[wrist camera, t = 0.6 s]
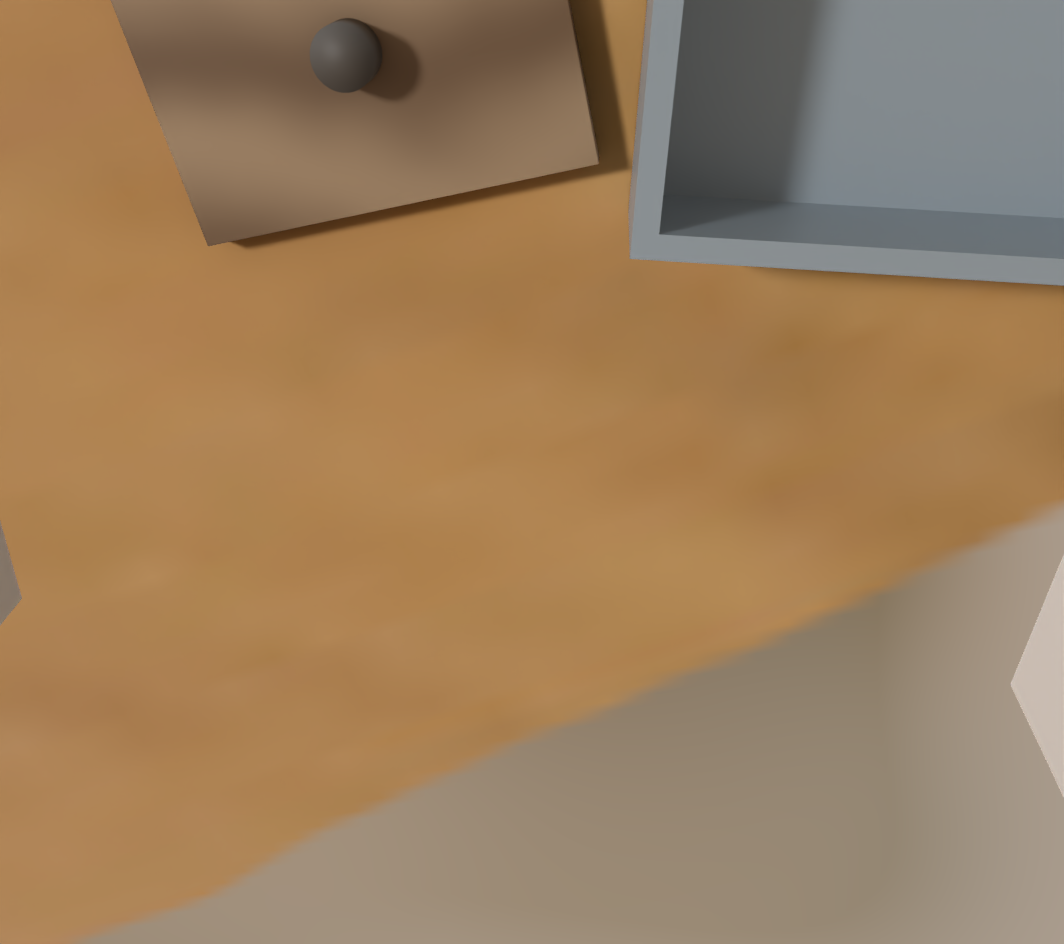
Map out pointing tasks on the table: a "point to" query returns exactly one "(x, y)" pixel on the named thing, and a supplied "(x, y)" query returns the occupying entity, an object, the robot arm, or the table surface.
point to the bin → (853, 137)
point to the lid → (356, 102)
